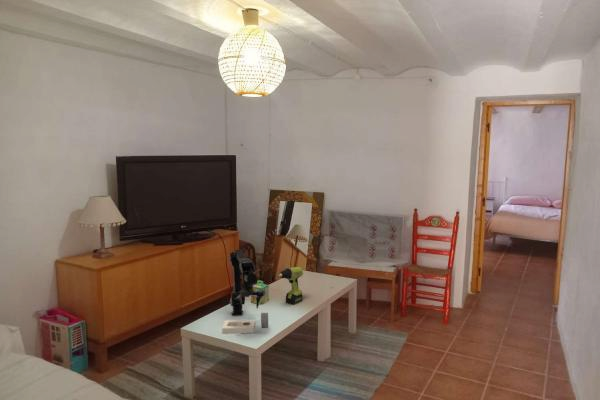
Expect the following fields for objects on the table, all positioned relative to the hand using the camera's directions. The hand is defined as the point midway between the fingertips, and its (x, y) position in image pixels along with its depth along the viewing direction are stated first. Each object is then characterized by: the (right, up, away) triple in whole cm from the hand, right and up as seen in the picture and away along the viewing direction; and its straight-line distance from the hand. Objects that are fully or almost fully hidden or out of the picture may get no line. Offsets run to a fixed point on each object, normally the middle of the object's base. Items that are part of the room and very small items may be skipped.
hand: (249, 308), depth 253 cm
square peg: (+8, -13, +8) cm, 17 cm away
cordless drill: (+23, -8, +46) cm, 51 cm away
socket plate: (-7, -13, +5) cm, 16 cm away
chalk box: (+2, -8, +50) cm, 51 cm away
